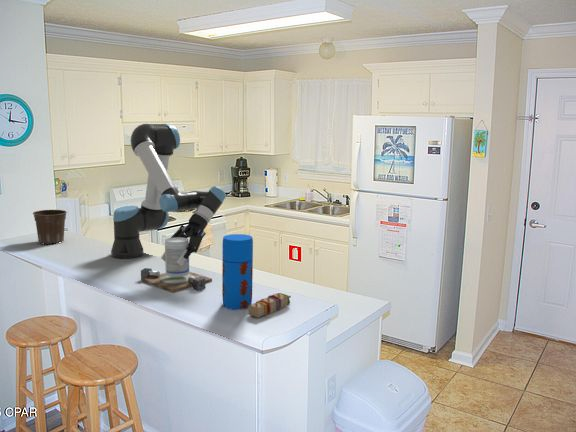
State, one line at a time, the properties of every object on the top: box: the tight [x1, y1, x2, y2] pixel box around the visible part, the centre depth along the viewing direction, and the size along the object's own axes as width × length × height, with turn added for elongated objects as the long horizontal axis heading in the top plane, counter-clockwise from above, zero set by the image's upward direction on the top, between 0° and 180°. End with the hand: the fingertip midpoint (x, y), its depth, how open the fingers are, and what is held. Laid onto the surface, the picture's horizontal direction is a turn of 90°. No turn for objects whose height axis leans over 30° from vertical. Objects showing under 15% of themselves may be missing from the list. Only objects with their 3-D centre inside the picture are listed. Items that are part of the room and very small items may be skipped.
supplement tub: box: [164, 237, 190, 277], centre depth 212 cm, size 10×10×15 cm
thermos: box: [221, 233, 254, 310], centre depth 187 cm, size 11×11×25 cm
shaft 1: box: [140, 267, 161, 281], centre depth 215 cm, size 7×4×4 cm, turn 80°
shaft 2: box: [188, 277, 206, 291], centre depth 206 cm, size 7×4×4 cm, turn 50°
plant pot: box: [32, 209, 68, 245], centre depth 273 cm, size 16×16×16 cm
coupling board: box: [141, 271, 213, 293], centre depth 214 cm, size 20×20×2 cm
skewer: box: [247, 292, 292, 318], centre depth 184 cm, size 21×6×5 cm, turn 142°
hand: (171, 262), depth 210 cm, fingers closed on supplement tub, 9 cm apart
